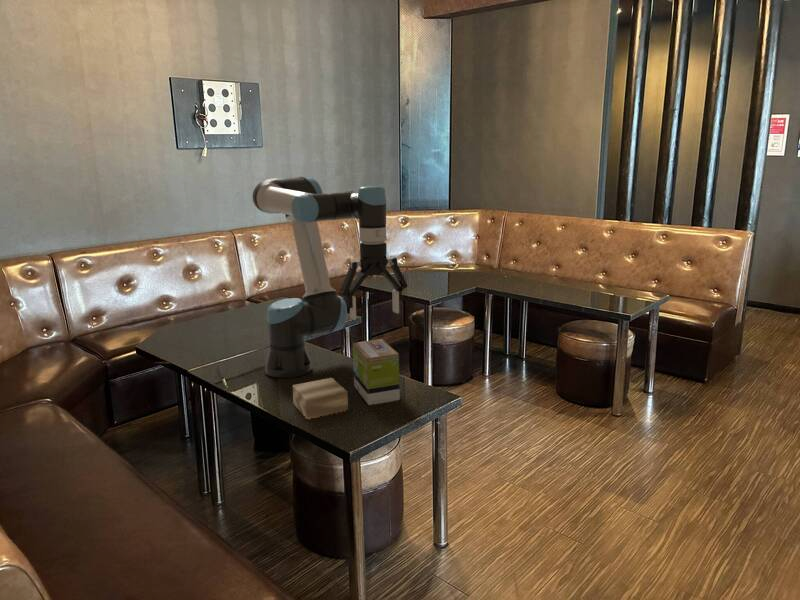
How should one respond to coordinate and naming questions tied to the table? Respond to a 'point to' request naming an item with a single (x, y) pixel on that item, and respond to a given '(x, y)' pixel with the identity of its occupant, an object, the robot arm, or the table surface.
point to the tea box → (376, 371)
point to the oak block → (320, 398)
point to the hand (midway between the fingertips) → (374, 315)
